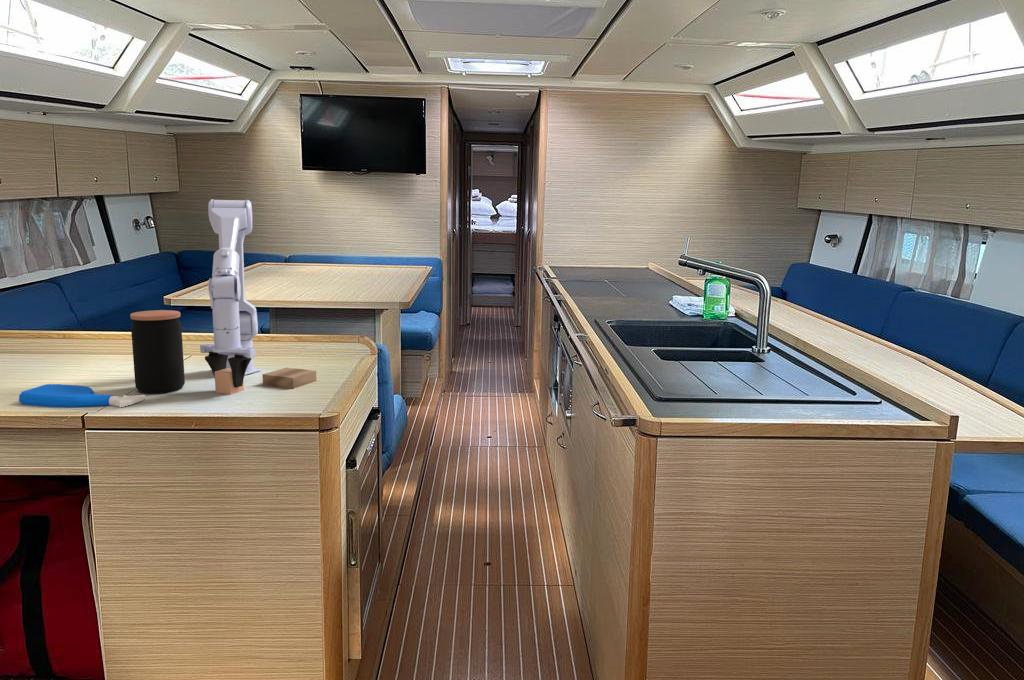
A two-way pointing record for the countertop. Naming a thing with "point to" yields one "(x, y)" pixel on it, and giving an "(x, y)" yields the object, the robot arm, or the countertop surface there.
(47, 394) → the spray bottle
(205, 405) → the countertop surface
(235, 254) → the robot arm
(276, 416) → the countertop surface
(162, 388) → the coffee jar
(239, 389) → the peach block
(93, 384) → the countertop surface
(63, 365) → the countertop surface
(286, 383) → the walnut box
